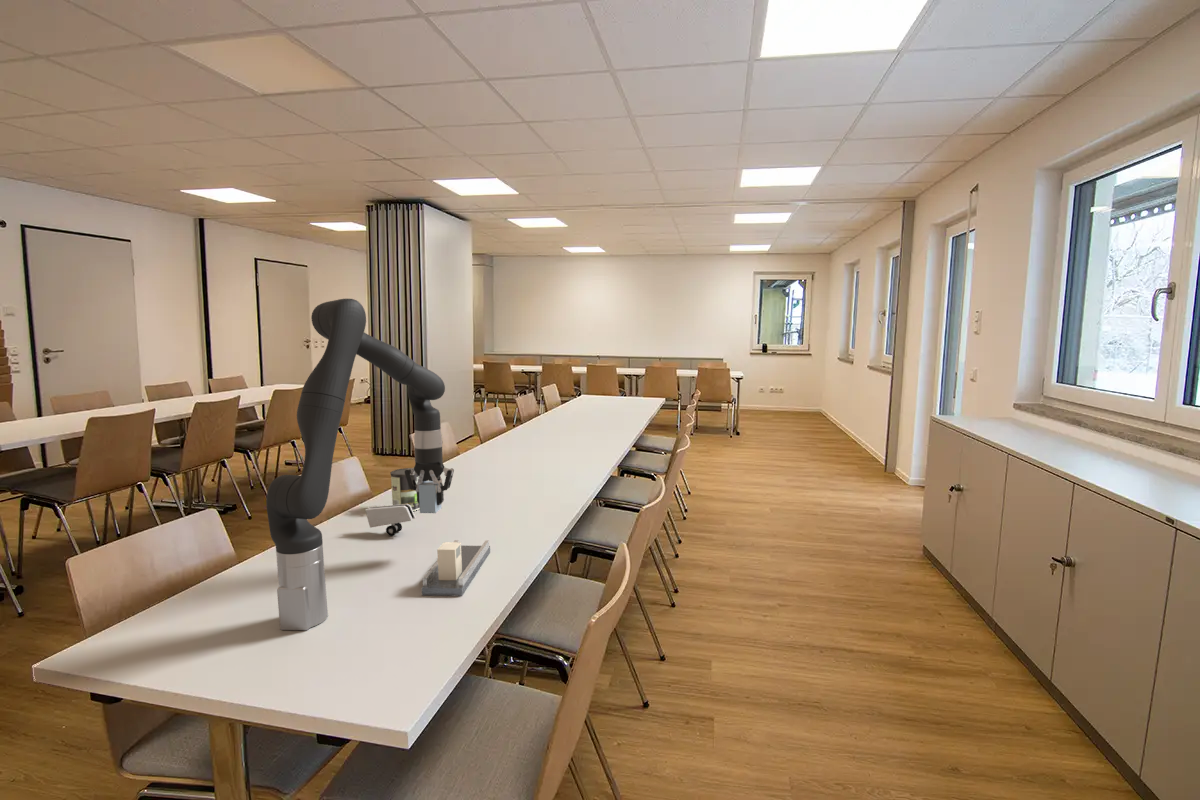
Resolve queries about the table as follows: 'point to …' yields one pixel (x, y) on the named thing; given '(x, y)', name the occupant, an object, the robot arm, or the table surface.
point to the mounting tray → (470, 567)
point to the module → (428, 498)
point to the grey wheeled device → (390, 516)
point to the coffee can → (403, 489)
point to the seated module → (449, 561)
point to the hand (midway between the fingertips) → (430, 504)
